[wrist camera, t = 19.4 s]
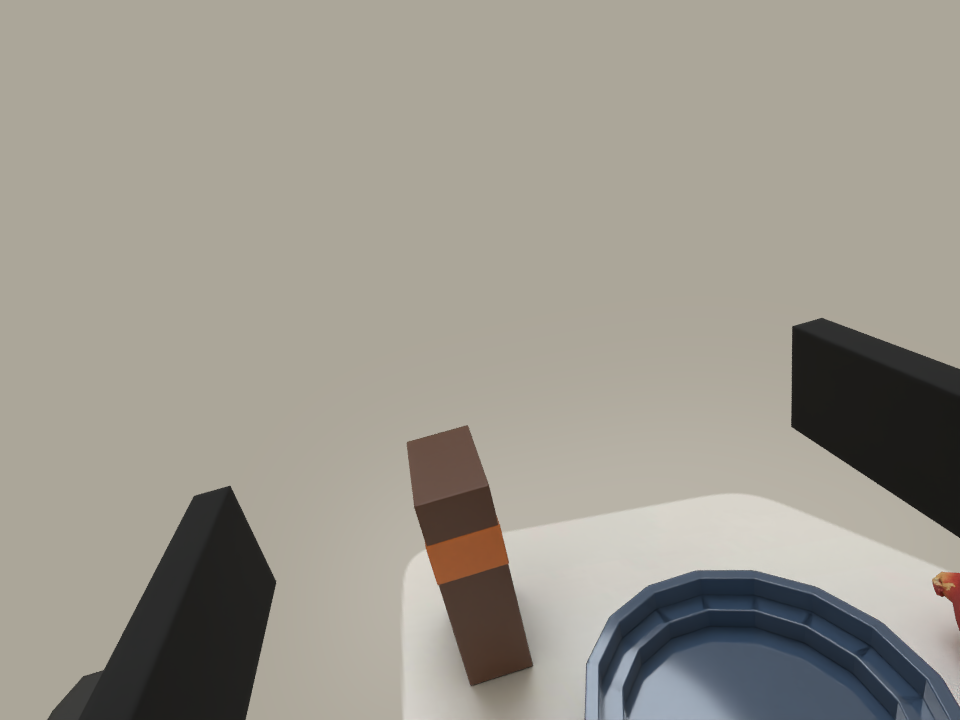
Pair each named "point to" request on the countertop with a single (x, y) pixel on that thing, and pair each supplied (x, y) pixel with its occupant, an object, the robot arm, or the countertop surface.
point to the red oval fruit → (949, 590)
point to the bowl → (755, 656)
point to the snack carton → (468, 553)
